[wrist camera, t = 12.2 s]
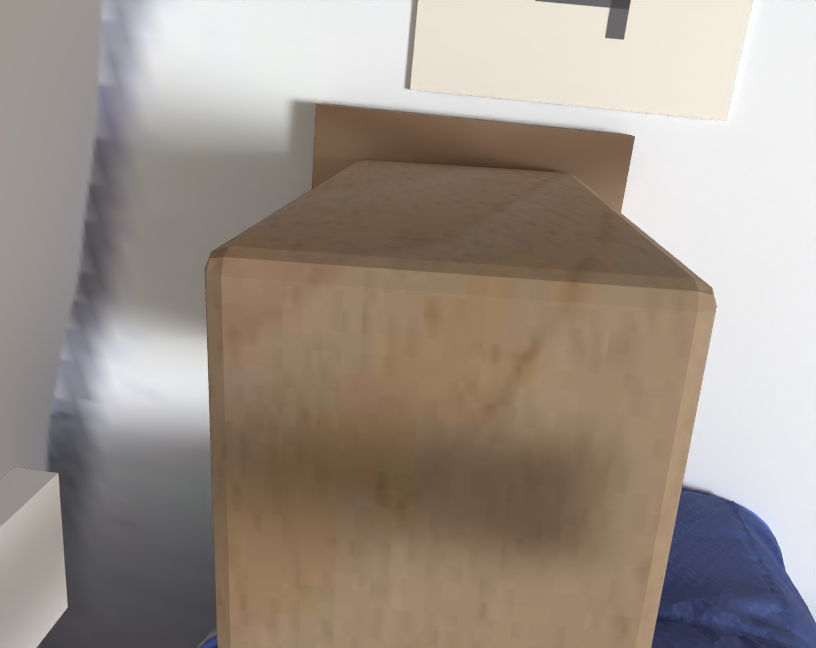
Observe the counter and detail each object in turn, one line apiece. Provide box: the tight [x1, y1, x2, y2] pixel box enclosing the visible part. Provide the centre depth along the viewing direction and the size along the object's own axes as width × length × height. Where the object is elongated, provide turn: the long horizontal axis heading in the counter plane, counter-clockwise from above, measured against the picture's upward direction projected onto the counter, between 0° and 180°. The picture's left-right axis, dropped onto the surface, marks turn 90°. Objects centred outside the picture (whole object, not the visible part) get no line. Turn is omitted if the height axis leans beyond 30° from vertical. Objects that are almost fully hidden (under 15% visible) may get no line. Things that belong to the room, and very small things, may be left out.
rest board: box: [312, 104, 635, 213], centre depth 35 cm, size 14×14×1 cm
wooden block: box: [205, 160, 717, 648], centre depth 25 cm, size 10×10×20 cm
